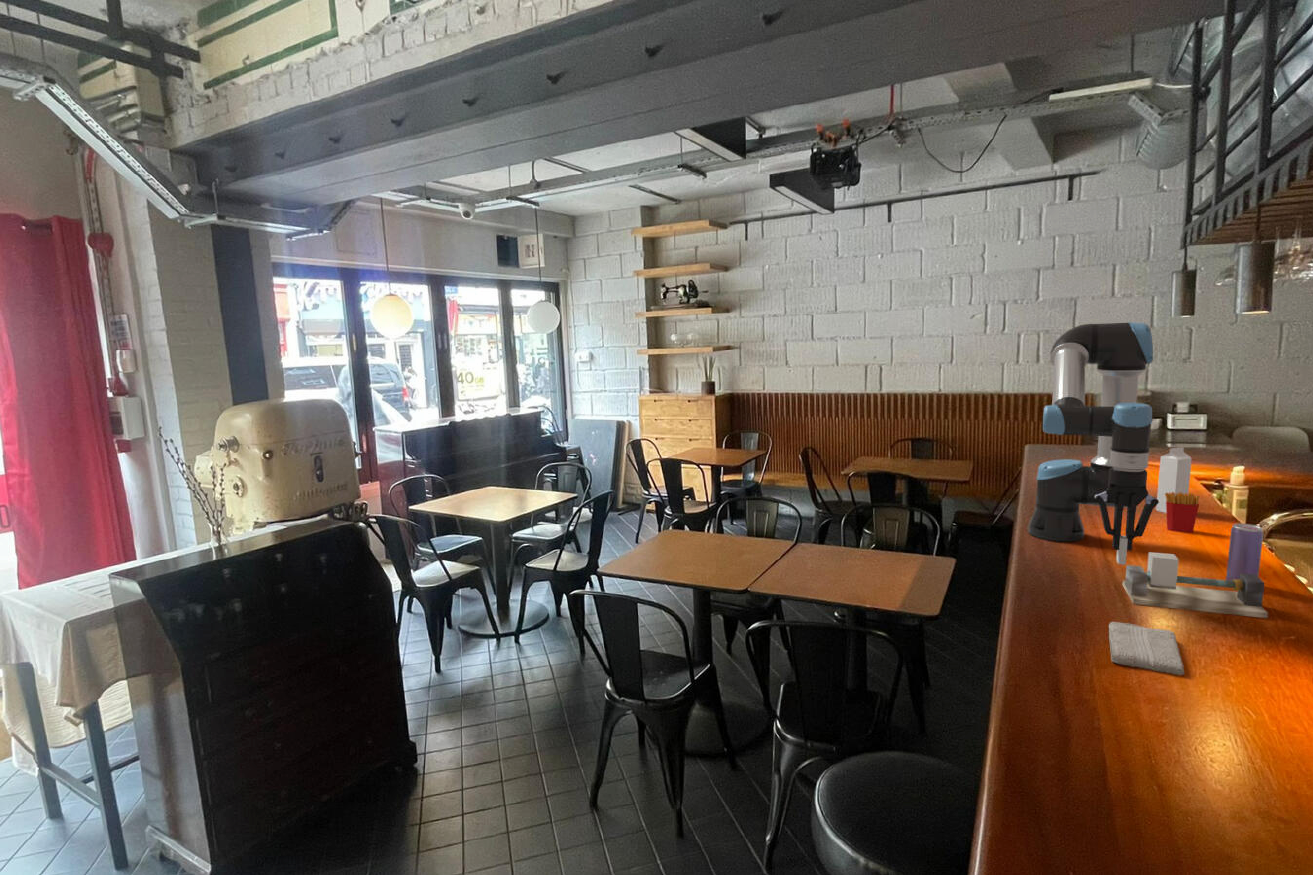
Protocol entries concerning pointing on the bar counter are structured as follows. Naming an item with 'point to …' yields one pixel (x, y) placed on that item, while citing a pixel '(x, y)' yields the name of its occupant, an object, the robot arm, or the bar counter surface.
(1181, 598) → the grey slider rail
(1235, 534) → the beverage can
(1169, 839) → the bar counter surface
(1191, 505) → the french fries
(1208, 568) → the bar counter surface
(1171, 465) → the milk
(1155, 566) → the light grey cube
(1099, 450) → the robot arm
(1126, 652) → the washcloth
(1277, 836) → the bar counter surface
